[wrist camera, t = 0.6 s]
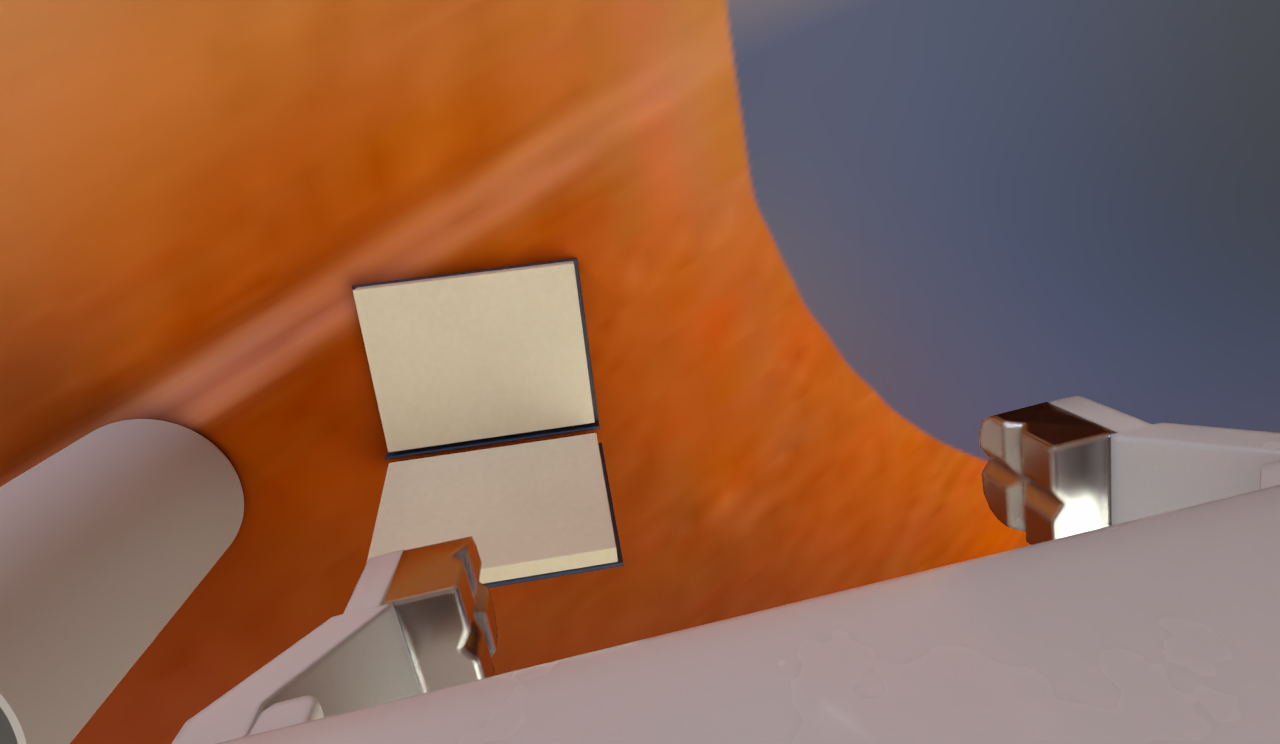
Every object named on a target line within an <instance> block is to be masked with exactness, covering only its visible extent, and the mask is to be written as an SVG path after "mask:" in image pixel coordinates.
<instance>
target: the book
mask: <svg viewBox="0 0 1280 744" xmlns="http://www.w3.org/2000/svg"><path fill="white" fill-rule="evenodd" d="M352 288H353V295H354V299H355V304H356V308H357V313H358V317H359V322H360V327H361V331H362V336H363V340H364V345H365V349H366V354H367V358H368V363H369V367H370V372H371V376H372V381H373V385H374V390H375V394H376V399H377V403H378V408H379V412H380V417H381V421H382V426H383V430H384V435H385V440H386V444H387V449H388V453H387V454H386V456H385V460H387V459H393V458H400V457H407V456H414V455H421V454H428V453H435V452H442V451H448V450H455V449H462V448H469V447H476V446H483V445H490V444H496V443H503V442H510V441H517V440H524V439H531V438H538V437H545V436H551V435H558V434H565V433H572V432H579V431H586V430H593V429H599V428H600V427H599V422H598V415H597V408H596V400H595V392H594V385H593V377H592V369H591V362H590V354H589V346H588V339H587V331H586V323H585V316H584V308H583V300H582V293H581V285H580V277H579V270H578V262H577V258H574V259H566V260H558V261H550V262H542V263H534V264H526V265H518V266H510V267H502V268H493V269H485V270H477V271H469V272H461V273H453V274H445V275H437V276H429V277H421V278H413V279H404V280H396V281H388V282H380V283H372V284H364V285H356V286H352Z"/></svg>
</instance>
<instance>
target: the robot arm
mask: <svg viewBox="0 0 1280 744" xmlns="http://www.w3.org/2000/svg"><path fill="white" fill-rule="evenodd" d="M979 435H980V447H981V449H982V450H983V451H984V452H985V453H986V454H987V455H988V456H989V457H990V459H989V461H988V463H987V464H986V466H985V468H984V470H983V472H982V481H983V490H984V494H985V497H986V499H987V502H988V505H989V507H990V509H991V511H992V512H993V513H994V515H995V516H996V517H997V519H998V520H1000V521H1001V522H1002V523H1003V524H1005V525H1006V526H1007V527H1009V528H1013V529H1017V530H1021V531H1025V532H1026V539H1027V542H1028V543H1030V544H1031V545H1030V546H1025V547H1021V548H1017V549H1013V550H1009V551H1005V552H1001V553H997V554H993V555H989V556H984V557H980V558H976V559H972V560H968V561H964V562H960V563H956V564H952V565H947V566H943V567H939V568H935V569H931V570H927V571H923V572H919V573H915V574H910V575H906V576H902V577H898V578H894V579H890V580H886V581H882V582H878V583H873V584H869V585H865V586H861V587H857V588H853V589H849V590H845V591H841V592H837V593H832V594H828V595H824V596H820V597H816V598H812V599H808V600H804V601H800V602H795V603H791V604H787V605H783V606H779V607H775V608H771V609H767V610H763V611H758V612H754V613H750V614H746V615H742V616H738V617H734V618H730V619H726V620H721V621H717V622H713V623H709V624H705V625H701V626H697V627H693V628H689V629H684V630H680V631H676V632H672V633H668V634H664V635H660V636H656V637H652V638H648V639H643V640H639V641H635V642H631V643H627V644H623V645H619V646H615V647H611V648H606V649H602V650H598V651H594V652H590V653H586V654H582V655H578V656H574V657H569V658H565V659H561V660H557V661H553V662H549V663H545V664H541V665H537V666H532V667H528V668H524V669H520V670H516V671H512V672H508V673H504V674H500V675H496V676H494V667H493V664H492V660H491V656H492V655H493V654H494V653H495V652H496V650H497V626H496V617H495V612H494V607H493V602H492V598H491V594H490V591H489V588H487V587H486V586H485V585H483V584H482V583H481V582H479V578H480V571H481V565H482V562H481V559H480V555H479V552H478V549H477V546H476V543H475V541H474V539H473V538H472V536H469V537H465V538H460V539H455V540H451V541H446V542H441V543H436V544H432V545H427V546H422V547H418V548H413V549H408V550H404V549H403V550H399V551H395V552H391V553H387V554H384V555H380V556H376V557H372V558H369V560H368V562H367V564H366V566H365V568H364V570H363V572H362V575H361V577H360V579H359V581H358V583H357V585H356V587H355V590H354V592H353V594H352V596H351V598H350V600H349V602H348V604H347V607H346V609H345V611H344V613H343V614H342V615H338V616H334V617H331V618H330V619H329V620H327V621H326V622H325V623H323V624H322V625H320V626H319V627H318V628H316V629H315V630H313V631H312V632H311V633H309V634H308V635H306V636H305V637H304V638H302V639H301V640H299V641H298V642H297V643H295V644H294V645H293V646H291V647H290V648H288V649H287V650H286V651H284V652H283V653H281V654H280V655H279V656H277V657H276V658H274V659H273V660H272V661H270V662H269V663H267V664H266V665H265V666H263V667H262V668H261V669H259V670H258V671H256V672H255V673H254V674H252V675H251V676H249V677H248V678H247V679H245V680H244V681H242V682H241V683H240V684H238V685H237V686H235V687H234V688H233V689H231V690H230V691H228V692H227V693H226V694H224V695H223V696H222V697H220V698H219V699H217V700H216V701H215V702H213V703H212V704H210V705H209V706H208V707H206V708H205V709H203V710H202V711H201V712H199V713H198V714H196V715H195V716H194V717H192V718H191V719H190V720H188V721H187V722H185V724H184V726H183V727H182V729H181V730H180V732H179V733H178V735H177V736H176V738H175V739H174V741H173V742H172V744H1280V433H1276V432H1264V431H1252V430H1241V429H1230V428H1217V427H1207V426H1195V425H1184V424H1172V423H1158V424H1154V425H1152V424H1149V423H1147V422H1144V421H1142V420H1139V419H1137V418H1134V417H1132V416H1129V415H1127V414H1124V413H1122V412H1119V411H1117V410H1114V409H1112V408H1109V407H1107V406H1104V405H1102V404H1099V403H1097V402H1094V401H1092V400H1089V399H1087V398H1084V397H1082V396H1072V397H1067V398H1063V399H1060V400H1057V401H1053V402H1049V403H1048V402H1045V403H1041V404H1037V405H1034V406H1029V407H1025V408H1021V409H1018V410H1014V411H1010V412H1006V413H1002V414H998V415H994V416H990V417H988V418H987V419H985V420H983V421H982V423H981V427H980V432H979Z"/></svg>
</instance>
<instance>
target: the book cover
mask: <svg viewBox="0 0 1280 744" xmlns="http://www.w3.org/2000/svg"><path fill="white" fill-rule="evenodd" d="M469 536H472V538H473V539H474V541H475V543H476V546H477V549H478V552H479V555H480V559H481V562H482V565H481V571H480V578H479V582H481V583H482V584H483V585H485V586H486V587H487V588H491V587H497V586H503V585H510V584H516V583H522V582H528V581H534V580H540V579H546V578H552V577H558V576H565V575H571V574H577V573H583V572H589V571H595V570H601V569H607V568H613V567H620V566H623V560H622V554H621V548H620V543H619V537H618V532H617V526H616V521H615V515H614V510H613V504H612V498H611V493H610V487H609V482H608V476H607V471H606V465H605V459H604V454H603V448H602V443H598V439H597V434H596V433H591V434H584V435H578V436H571V437H564V438H557V439H550V440H543V441H536V442H530V443H523V444H516V445H509V446H502V447H495V448H488V449H482V450H475V451H468V452H461V453H454V454H447V455H441V456H434V457H427V458H420V459H413V460H406V461H399V462H393V463H389V465H388V470H387V474H386V479H385V483H384V488H383V492H382V497H381V501H380V506H379V510H378V515H377V519H376V523H375V528H374V532H373V537H372V541H371V546H370V550H369V555H368V559H367V562H368V560H369V558H372V557H376V556H380V555H384V554H387V553H391V552H395V551H399V550H403V549H404V550H408V549H413V548H418V547H422V546H427V545H432V544H436V543H441V542H446V541H451V540H455V539H460V538H465V537H469Z"/></svg>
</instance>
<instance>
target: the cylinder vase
mask: <svg viewBox="0 0 1280 744" xmlns="http://www.w3.org/2000/svg"><path fill="white" fill-rule="evenodd" d="M243 514H244V495H243V490H242V486H241V482H240V480H239V477H238V475H237V473H236V471H235V469H234V467H233V466H232V464H231V463H230V461H229V460H228V458H227V457H226V456H225V455H224V454H223V453H222V452H221V450H219V449H218V448H217V447H216V446H215V445H214V444H213V443H212V442H210V441H209V440H208V439H206V438H205V437H203V436H202V435H200V434H198V433H196V432H194V431H192V430H190V429H188V428H186V427H183V426H181V425H178V424H174V423H171V422H167V421H161V420H154V419H131V420H124V421H119V422H115V423H111V424H108V425H105V426H103V427H100V428H98V429H96V430H94V431H92V432H91V433H89V434H87V435H86V436H84V437H82V438H81V439H79V440H77V441H76V442H74V443H72V444H71V445H69V446H67V447H66V448H64V449H62V450H61V451H59V452H58V453H56V454H54V455H53V456H51V457H49V458H48V459H46V460H44V461H43V462H41V463H39V464H38V465H36V466H34V467H33V468H31V469H29V470H28V471H26V472H24V473H23V474H21V475H19V476H18V477H16V478H14V479H13V480H11V481H9V482H8V483H6V484H5V485H3V486H1V487H0V744H70V743H71V742H72V740H73V739H74V738H75V737H76V735H77V734H78V733H79V732H80V730H81V729H82V728H83V727H84V726H85V724H86V723H87V722H88V721H89V719H90V718H91V717H92V716H93V714H94V713H95V712H96V711H97V709H98V708H99V707H100V706H101V704H102V703H103V702H104V701H105V700H106V698H107V697H108V696H109V695H110V693H111V692H112V691H113V690H114V688H115V687H116V686H117V685H118V683H119V682H120V681H121V680H122V678H123V677H124V676H125V675H126V674H127V672H128V671H129V670H130V669H131V667H132V666H133V665H134V664H135V662H136V661H137V660H138V659H139V657H140V656H141V655H142V654H143V653H144V651H145V650H146V649H147V648H148V646H149V645H150V644H151V643H152V641H153V640H154V639H155V638H156V636H157V635H158V634H159V633H160V631H161V630H162V629H163V628H164V627H165V625H166V624H167V623H168V622H169V620H170V619H171V618H172V617H173V615H174V614H175V613H176V612H177V610H178V609H179V608H180V607H181V606H182V604H183V603H184V602H185V601H186V599H187V598H188V597H189V596H190V594H191V593H192V592H193V591H194V589H195V588H196V587H197V586H198V584H199V583H200V582H201V581H202V580H203V578H204V577H205V576H206V575H207V573H208V572H209V571H210V570H211V568H212V567H213V566H214V565H215V563H216V562H217V561H218V560H219V559H220V557H221V556H222V555H223V554H224V552H225V551H226V550H227V549H228V547H229V546H230V545H231V543H232V542H233V540H234V539H235V537H236V535H237V533H238V531H239V529H240V526H241V523H242V519H243Z"/></svg>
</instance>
